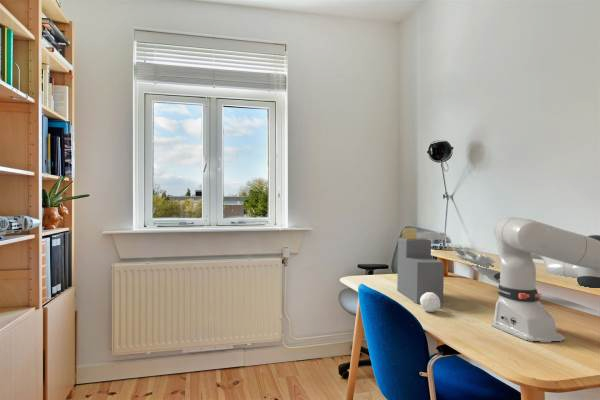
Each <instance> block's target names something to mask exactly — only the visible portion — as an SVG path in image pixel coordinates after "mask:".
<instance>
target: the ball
mask: <svg viewBox="0 0 600 400" xmlns="http://www.w3.org/2000/svg"><path fill="white" fill-rule="evenodd" d="M419 305H420V307H421V308H422V309H423V310H424V311H426V312H428V313H434V312H436V311H438V310H439V309H440V307H441V304H440V300H439V297H438V296H437V295H436V294H434V293H432V292H426V293H425V294H423V295H422V296H421V298H420V304H419Z"/></svg>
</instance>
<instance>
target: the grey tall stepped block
mask: <svg viewBox="0 0 600 400" xmlns="http://www.w3.org/2000/svg"><path fill="white" fill-rule="evenodd" d="M431 256H432V240H406V239H402V237H398V240H397V276H396V277H397V284H396V285H397V286H396V288H397V289H396V291H397V293H398V292H399V293H400V294H401V295H402V296H404V297H405V298H407V299H409V300H410V301H412V302H413V303H415V304H417V305H421V304H420V298H421V296H422V295H423V294H425V293H426V292H432V293H434V294H436V295H437V296H438V297H439V300H440V305H442V304H444V284H445V283H444V281H445V280H444V279H445V277H444V276H445V275H444V274H445V273H444V272H445V271H444V270H445V262H444V261H442V260H439V259H436V258H433V257H431Z"/></svg>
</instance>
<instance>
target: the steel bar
mask: <svg viewBox="0 0 600 400" xmlns="http://www.w3.org/2000/svg"><path fill="white" fill-rule="evenodd" d="M401 228H402V230H401V232H402V235H401V238H402V239H406V240H431V241H432V240H433V241H434V240H435V241H436V240H438V241H439V240H440V241H441V240H443V241H445V240H446V235H447V234H446V233H445V232H418V230H417V228H413V227H411V228H410V227H408V228H407V227H404V228H403V227H401Z"/></svg>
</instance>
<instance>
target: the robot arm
mask: <svg viewBox="0 0 600 400" xmlns="http://www.w3.org/2000/svg"><path fill="white" fill-rule="evenodd" d="M493 233H494V236H495V238H496V239H495V241H496V244H497V251H498V257H499V264H500V272H498V271H494V270H491V269H487V268H489V266H491V267H494V265H492V264H493V263H497V262H496V261H495V260H494V259H493V258H491V257H490V256H488V255H486V254H485V253H483V254H480V253H476V252H472V251H470V250H468V249H465V250H464V249H461V248H458V247H456V246H453V249H452V250H453V251H454V252H456V253H455V256H456V257H457V258H458V259H460V260H462V261H463V260H465V261H469V262H471V263H474V264H477V265H476V266H474V265H469V264H468V263H466V265H467V266H469V267H470V268H472V269H474V271H477V272H478V273H480V274H481V275H483V276H486V277H487V278H488V279H489V280H491V281H493V282H494V283H496V284H498V287H497V290H498V292H497V294H498V295H499V297H498V299H497V301H496V304H495V310H494V318H493V321H492V322H491V326H492V327H494V328H496V329H498V330H501V331H503V332H505V333H508V334H510V335H513V336H515V337H517V338H520V339H521V340H522V339H523V340H524V341H527V340H528V342H533V341H540V342H539V343H552V342H551V341H560V342H562V341H561V340H564V339H565V340H566V337H565V336H564V335H562V334H561V333H560V332H557V326H556V321H555V319H554V317H553V315H552V314H551V313H549V312H548V310H547V309H546V308H545V307H544V305H543V304H542V303H541V302H540V298H542V293H539V292H538V289H537V287H536V286H537V284H536V283H537V277H536V276H537V268H536V267H537V266H536V263H535V262H534V260H540V261H543V263H544V268H545V271H546V273H547V272H548V273H550V274H554V275H560V276H565V277H572V278H577V282H578V284H579V285H580V286H584V287H589V288H600V234H598V235H597V234H594V235H593V234H591V235H587V236H586V235H583V234H581V233H576V232H573V231H569V230H566V229H562V228H558V227H556V226H552V225H549V224H546V223H544V222H540V221H536V220H533V219H531V218H530V219H529V218H523V217H514V216H512V217H511V216H509V217H505V218H502V219H500V220H498V221H497V222H496V223H495V225H494V228H493ZM533 259H534V260H533ZM478 265H480V266H483V267H486V268H482V267H479V266H478ZM548 273H547V274H548ZM579 285H578V286H579ZM565 340H564V341H565ZM547 341H548V342H547Z"/></svg>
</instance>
